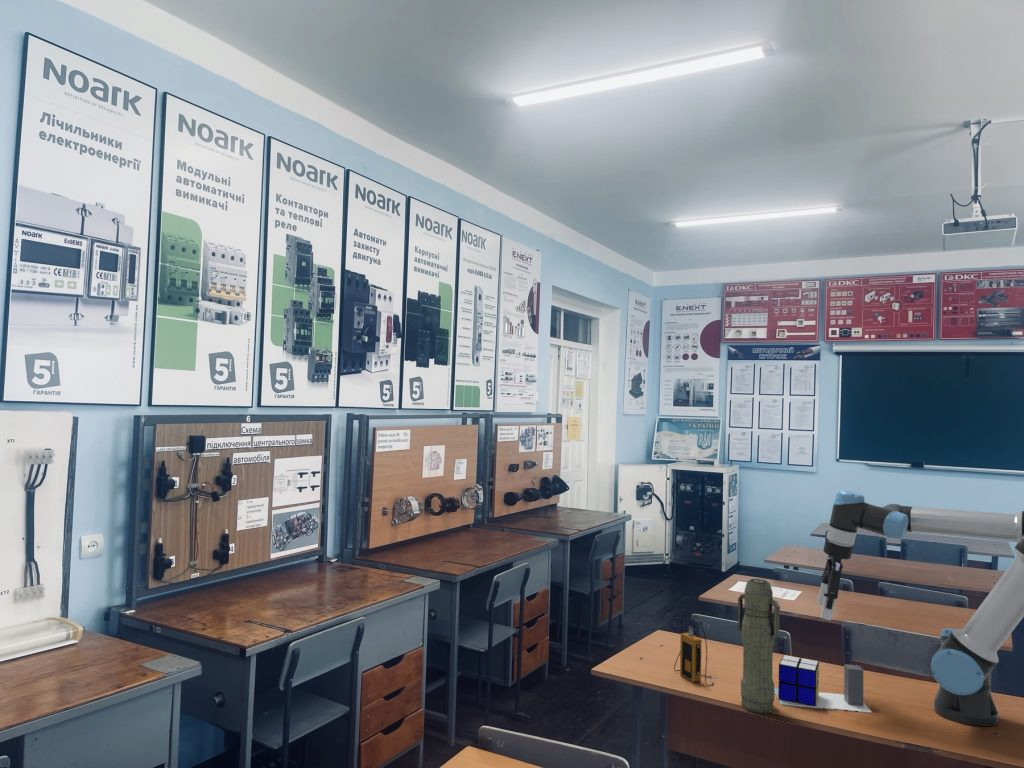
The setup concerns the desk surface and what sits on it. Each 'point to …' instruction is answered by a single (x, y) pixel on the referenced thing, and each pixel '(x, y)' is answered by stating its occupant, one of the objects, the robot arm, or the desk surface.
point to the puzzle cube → (798, 680)
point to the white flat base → (846, 701)
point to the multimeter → (691, 655)
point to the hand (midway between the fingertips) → (823, 611)
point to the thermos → (758, 645)
